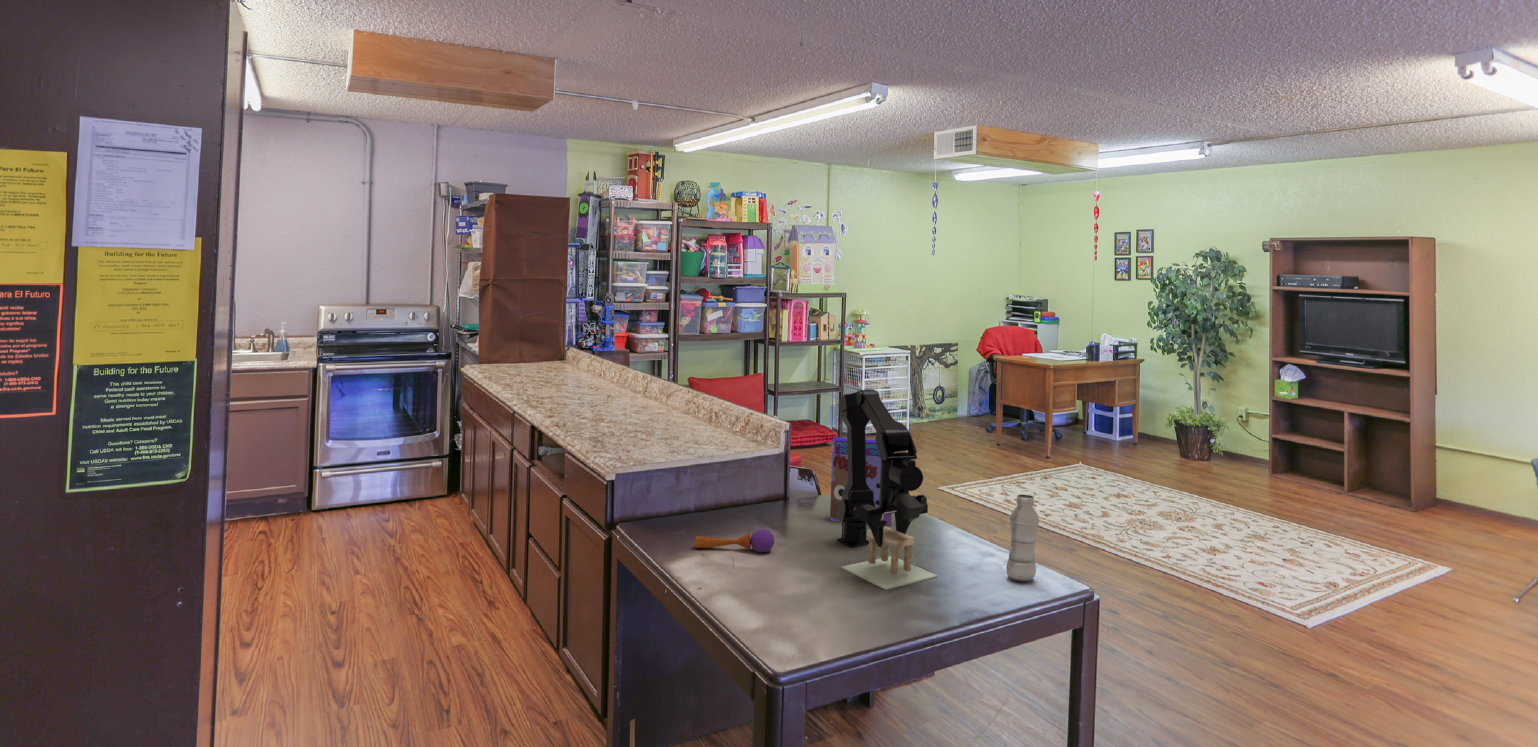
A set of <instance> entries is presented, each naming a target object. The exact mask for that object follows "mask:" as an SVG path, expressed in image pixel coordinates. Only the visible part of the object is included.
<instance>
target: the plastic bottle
mask: <svg viewBox="0 0 1538 747" xmlns="http://www.w3.org/2000/svg"><path fill="white" fill-rule="evenodd" d="M1034 499H1035V497H1034V496H1033V495H1031V494H1024V493H1023V494H1022V493H1021V494H1017V496H1016V501H1015V503H1016V505H1017V506H1016V507H1015V508H1014V509H1013V511H1011V513H1010V515H1009V525H1010V547H1009V554H1008V559H1007V561H1006V568H1005V570H1006V575H1007V576H1008V577H1009V579H1011V580H1013V581H1017V582H1030V581H1032V580H1034V578H1035V577H1036V572H1037V565H1036V540H1037V533H1038V528H1039V524H1040V518H1039V515H1038V513H1037V511H1036V510H1035V508H1034V505H1035V500H1034Z"/></svg>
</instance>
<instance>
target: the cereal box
mask: <svg viewBox="0 0 1538 747" xmlns="http://www.w3.org/2000/svg"><path fill="white" fill-rule="evenodd" d="M865 441H866V483H867V485H868V487H869V488H870V490H872V491H873V493H874V502H875V507H879V505H876V500H879V496H880V488H877V487H876V483H880V469H881V458H879V454H880V451H879V449H878V447H877V444H876V440H875V439H866V438H865ZM847 484H848V449H847V437H833V439H832V444H831V481H830V507H829V508H830V510H829V513H830V514H829V522H830V523H840V522H841V521H840V520H838V519H837V516H836V509H837V507H838V506H839V504H840V502H841V500H842V492H843V490H844V489H845V487H846V485H847ZM892 515H893V513H891V514H886V515H884V517H883V520H884V521H887V523H886V525H885V526H884V527H892V519H893V518H892V517H893V516H892ZM866 525H868V524H867V523H866Z"/></svg>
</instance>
